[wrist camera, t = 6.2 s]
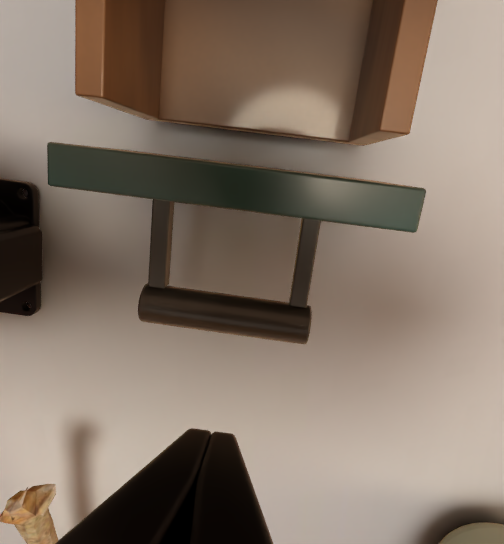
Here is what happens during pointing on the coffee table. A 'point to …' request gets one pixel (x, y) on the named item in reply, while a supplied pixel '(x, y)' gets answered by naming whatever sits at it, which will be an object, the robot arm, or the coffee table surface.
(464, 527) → the cup
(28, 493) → the pine cone
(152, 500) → the robot arm
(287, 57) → the drawer
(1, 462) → the coffee table surface
